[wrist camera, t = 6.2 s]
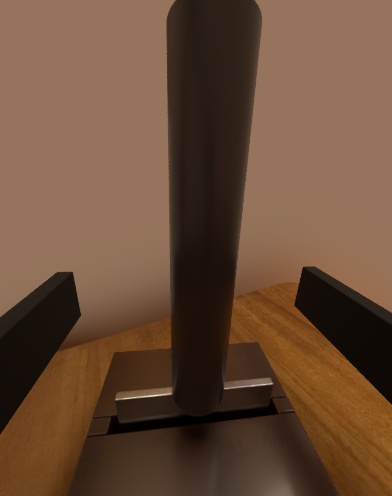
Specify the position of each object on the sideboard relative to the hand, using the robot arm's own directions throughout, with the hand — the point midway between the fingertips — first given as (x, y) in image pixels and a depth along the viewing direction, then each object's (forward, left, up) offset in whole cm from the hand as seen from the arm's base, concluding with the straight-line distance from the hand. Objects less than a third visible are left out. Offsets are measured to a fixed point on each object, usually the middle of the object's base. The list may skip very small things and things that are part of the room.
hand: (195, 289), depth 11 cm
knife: (+1, -3, -10) cm, 10 cm away
